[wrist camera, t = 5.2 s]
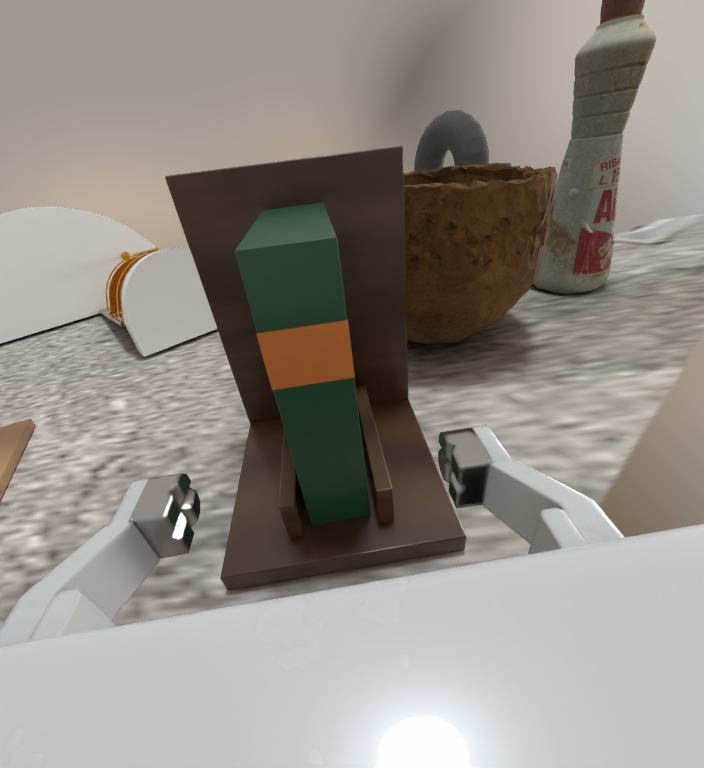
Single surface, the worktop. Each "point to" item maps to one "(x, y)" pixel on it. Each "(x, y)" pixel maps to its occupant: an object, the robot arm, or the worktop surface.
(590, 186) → the bottle
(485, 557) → the worktop surface
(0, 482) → the cork mat
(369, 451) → the book rack
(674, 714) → the robot arm
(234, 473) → the worktop surface
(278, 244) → the book
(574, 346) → the worktop surface
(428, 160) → the faucet
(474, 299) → the bowl
